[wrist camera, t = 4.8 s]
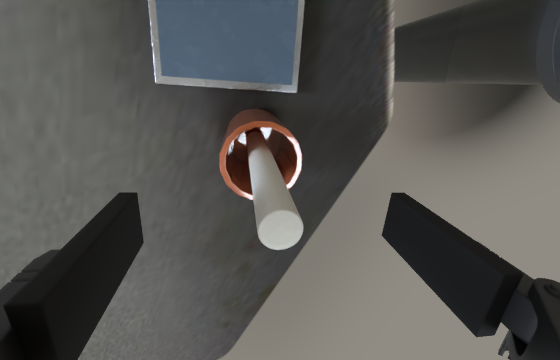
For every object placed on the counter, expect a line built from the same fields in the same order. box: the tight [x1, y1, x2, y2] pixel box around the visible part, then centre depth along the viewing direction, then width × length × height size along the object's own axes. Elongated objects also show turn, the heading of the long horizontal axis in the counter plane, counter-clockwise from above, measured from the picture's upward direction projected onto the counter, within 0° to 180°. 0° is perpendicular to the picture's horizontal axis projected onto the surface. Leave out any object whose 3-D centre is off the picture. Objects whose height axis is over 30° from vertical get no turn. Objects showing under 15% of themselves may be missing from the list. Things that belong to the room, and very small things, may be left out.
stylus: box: [246, 132, 303, 250], centre depth 22 cm, size 2×2×20 cm
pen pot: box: [220, 109, 302, 200], centre depth 27 cm, size 7×7×10 cm
